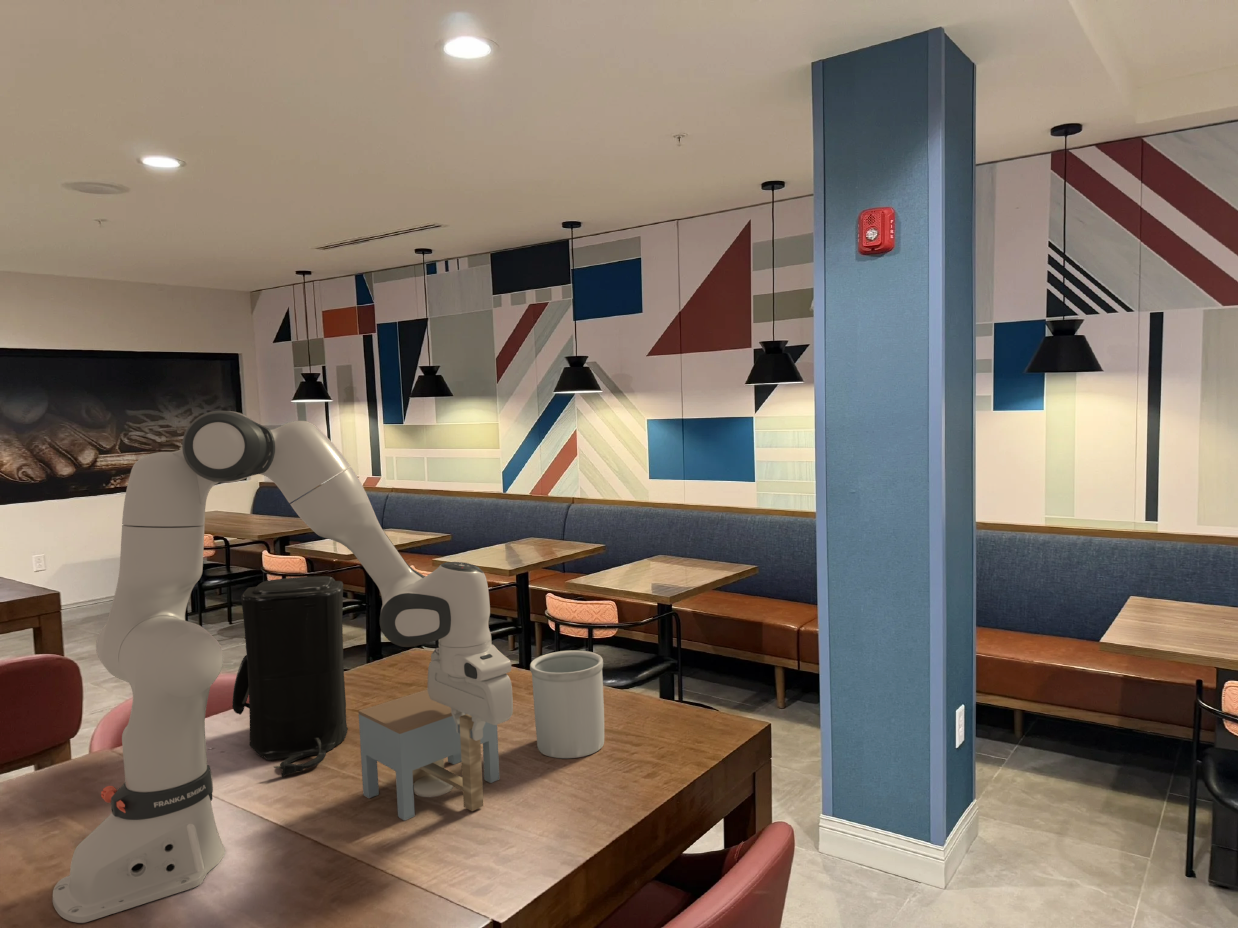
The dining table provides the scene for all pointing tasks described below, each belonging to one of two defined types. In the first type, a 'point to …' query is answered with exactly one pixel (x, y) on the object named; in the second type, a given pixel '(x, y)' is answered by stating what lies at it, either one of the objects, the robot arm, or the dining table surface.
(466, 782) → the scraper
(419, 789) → the smooth oval stone
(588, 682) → the utensil holder
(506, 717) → the robot arm
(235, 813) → the dining table surface
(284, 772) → the coffee maker
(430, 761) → the wooden top stool
